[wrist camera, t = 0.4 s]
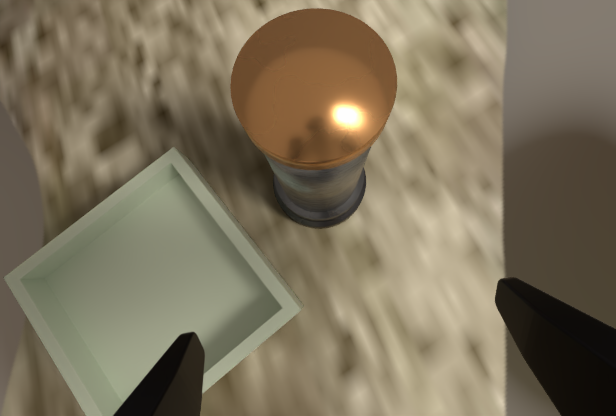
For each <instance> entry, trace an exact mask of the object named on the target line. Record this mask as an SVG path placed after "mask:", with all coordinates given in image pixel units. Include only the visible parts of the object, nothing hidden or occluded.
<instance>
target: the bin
mask: <svg viewBox="0 0 616 416" xmlns="http://www.w3.org/2000/svg"><path fill="white" fill-rule="evenodd" d="M4 280H5V281H6V283H7V285H8V286H9V288H10V289H11V291H12V293H13V294H14V296H15V298H16V299H17V301H18V303H19V305H20V306H21V308H22V309H23V311H24V313H25V315H26V316H27V318H28V320H29V321H30V323H31V325H32V326H33V328H34V330H35V331H36V333H37V335H38V336H39V338H40V340H41V341H42V343H43V345H44V346H45V348H46V350H47V351H48V353H49V355H50V356H51V358H52V360H53V361H54V363H55V365H56V366H57V368H58V370H59V371H60V373H61V375H62V376H63V378H64V380H65V381H66V383H67V385H68V386H69V388H70V390H71V391H72V393H73V395H74V396H75V398H76V400H77V401H78V403H79V405H80V406H81V408H82V410H83V411H84V413H85V415H86V416H113V415H114V413H115V412H116V411H117V410H118V409H119V407H120V406H121V405H122V404H123V403H124V401H125V400H126V399H127V398H128V396H129V395H130V394H131V393H132V392H133V390H134V389H135V388H136V387H137V386H138V384H139V383H140V382H141V381H142V380H143V378H144V377H145V376H146V375H147V374H148V372H149V371H150V370H151V369H152V367H153V366H154V365H155V364H156V363H157V361H158V360H159V359H160V358H161V357H162V355H163V354H164V353H165V352H166V351H167V349H168V348H169V347H170V346H171V344H172V343H173V342H174V341H175V340H176V338H177V337H178V336H179V335H180V334H182V333H187V332H195V333H196V334H197V336H198V338H199V340H200V342H201V344H202V346H203V348H204V351H205V363H204V376H203V388H202V394H203V393H204V392H205V391H206V390H207V389H208V388H210V387H211V386H212V385H213V384H214V383H216V382H217V381H218V380H219V379H220V378H221V377H223V376H224V375H225V374H226V373H227V372H229V371H230V370H231V369H232V368H233V367H234V366H236V365H237V364H238V363H239V362H240V361H242V360H243V359H244V358H245V357H246V356H247V355H249V354H250V353H251V352H252V351H253V350H255V349H256V348H257V347H258V346H259V345H260V344H262V343H263V342H264V341H265V340H266V339H268V338H269V337H270V336H271V335H272V334H273V333H275V332H276V331H277V330H278V329H279V328H281V327H282V326H283V325H284V324H285V323H286V322H288V321H289V320H290V319H291V318H292V317H294V316H295V315H296V314H297V313H298V312H299V311H301V310H302V308H303V306H304V305H303V304H302V302H301V301H300V300H299V299H298V297H297V296H296V295H295V294H294V292H293V291H292V290H291V288H290V287H289V286H288V285H287V283H286V282H285V281H284V280H283V278H282V277H281V276H280V274H279V273H278V272H277V271H276V269H275V268H274V267H273V266H272V264H271V263H270V262H269V260H268V259H267V258H266V257H265V255H264V254H263V253H262V251H261V250H260V249H259V248H258V246H257V245H256V244H255V243H254V241H253V240H252V239H251V237H250V236H249V235H248V234H247V232H246V231H245V230H244V229H243V227H242V226H241V225H240V223H239V222H238V221H237V220H236V218H235V217H234V216H233V214H232V213H231V212H230V211H229V209H228V208H227V207H226V206H225V204H224V203H223V202H222V200H221V199H220V198H219V197H218V195H217V194H216V193H215V192H214V190H213V189H212V188H211V186H210V185H209V184H208V183H207V181H206V180H205V179H204V178H203V176H202V175H201V174H200V172H199V171H198V170H197V169H196V167H195V166H194V165H193V163H192V162H191V161H190V160H189V159H188V158H187V157H186V156H185V155H183V154H182V153H181V152H180V151H179V150H177V149H176V148H175V147H173V148H171V149H170V150H169V151H167V152H166V153H165V154H164V155H162V156H161V157H160V158H158V159H157V160H156V161H154V162H153V163H152V164H151V165H149V166H148V167H147V168H145V169H144V170H143V171H141V172H140V173H139V174H138V175H136V176H135V177H134V178H132V179H131V180H130V181H128V182H127V183H126V184H124V185H123V186H122V187H121V188H119V189H118V190H117V191H115V192H114V193H113V194H111V195H110V196H109V197H108V198H106V199H105V200H104V201H102V202H101V203H100V204H98V205H97V206H96V207H95V208H93V209H92V210H91V211H89V212H88V213H87V214H85V215H84V216H83V217H82V218H80V219H79V220H78V221H76V222H75V223H74V224H72V225H71V226H70V227H68V228H67V229H66V230H65V231H63V232H62V233H61V234H59V235H58V236H57V237H55V238H54V239H53V240H52V241H50V242H49V243H48V244H46V245H45V246H44V247H42V248H41V249H40V250H39V251H37V252H36V253H35V254H33V255H32V256H31V257H29V258H28V259H27V260H26V261H24V262H23V263H22V264H20V265H19V266H18V267H16V268H15V269H14V270H13V271H11V272H10V273H9V274H7V275H6V276H5V277H4Z"/></svg>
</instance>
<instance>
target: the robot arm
mask: <svg viewBox="0 0 616 416" xmlns="http://www.w3.org/2000/svg"><path fill="white" fill-rule="evenodd" d="M495 303H496V306H497V309H498V311H499V312H500V314H501V316H502V318H503V320H504V322H505V324H506V326H507V328H508V330H509V332H510V334H511V335H512V337H513V339H514V341H515V343H516V345H517V347H518V349H519V351H520V352H521V354H522V356H523V358H524V359H525V361H526V363H527V364H528V366H529V367H530V369H531V370H532V372H533V373H534V375H535V376H536V378H537V380H538V381H539V383H540V384H541V386H542V387H543V388H544V390H545V392H546V393H547V395H548V396H549V398H550V399H551V401H552V402H553V404H554V405H555V407H556V409H557V410H558V412H559V413H560V415H561V416H616V329H614V328H613V327H611V326H609V325H607V324H605V323H603V322H601V321H599V320H597V319H595V318H593V317H591V316H590V315H587V314H586V313H584V312H582V311H580V310H578V309H576V308H574V307H572V306H570V305H568V304H566V303H564V302H562V301H560V300H558V299H557V298H555V297H553V296H550V295H549V294H547V293H545V292H543V291H541V290H539V289H537V288H535V287H533V286H531V285H529V284H527V283H525V282H524V281H522V280H520V279H518V278H515V277H508V278H502V279H500V280H499V281H498V284H497V290H496V295H495ZM204 363H205V351H204V348H203V346H202V344H201V342H200V340H199V338H198V336H197V334H196V333H195V332H187V333H182V334H180V335H179V336H178V337H177V338H176V340H175V341H174V342H173V343H172V344H171V346H170V347H169V348H168V349H167V351H166V352H165V353H164V354H163V355H162V357H161V358H160V359H159V360H158V361H157V363H156V364H155V365H154V366H153V367H152V369H151V370H150V371H149V372H148V374H147V375H146V376H145V377H144V378H143V380H142V381H141V382H140V383H139V384H138V386H137V387H136V388H135V389H134V390H133V392H132V393H131V394H130V395H129V396H128V398H127V399H126V400H125V401H124V403H123V404H122V405H121V406H120V407H119V409H118V410H117V411H116V412H115V413H114V415H113V416H200V411H201V401H202V388H203V376H204Z"/></svg>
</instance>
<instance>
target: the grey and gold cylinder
mask: <svg viewBox="0 0 616 416" xmlns="http://www.w3.org/2000/svg"><path fill="white" fill-rule="evenodd" d="M396 91H397V74H396V68H395V64H394V61H393V58H392V55H391V53H390V51H389V49H388V47H387V46H386V44H385V43H384V41H383V40H382V39H381V37H380V36H379V35H378V34H377V33H376V32H375V31H374V30H373V29H372V28H370V27H369V26H368V25H367V24H365V23H364V22H362V21H361V20H359V19H357V18H355V17H353V16H351V15H348V14H345V13H343V12H339V11H335V10H330V9H303V10H297V11H293V12H289V13H287V14H284V15H281V16H279V17H277V18H275V19H273V20H271V21H269V22H268V23H266V24H265V25H263V26H262V27H261V28H259V29H258V30H257V31H256V32H255V33H254V34H253V35H252V36H251V37H250V38H249V39H248V40H247V42H246V43H245V45H244V46H243V47H242V49H241V51H240V53H239V54H238V56H237V59H236V61H235V64H234V67H233V71H232V76H231V98H232V102H233V107H234V109H235V112H236V115H237V117H238V119H239V121H240V122H241V124H242V126H243V128H244V130H245V131H246V133H247V135H248V136H249V138H250V139H251V141H252V142H253V143H254V144H255V146H256V147H257V148H258V149H259V150H260V151H261V152H263V153H264V155H265V156H266V158H267V160H268V162H269V164H270V166H271V168H272V170H273V172H274V182H275V186H276V190H277V192H278V194H279V196H280V198H281V200H282V201H283V203H284V204H285V206H286V207H287V208H288V209H289V210H290V211H291V212H292V213H293V214H294V215H296V216H298V217H299V218H302V219H304V220H307V221H311V222H328V221H332V220H335V219H337V218H339V217H341V216H343V215H344V214H345V213H347V212H348V211H349V210H350V209H351V208H352V207H353V205H354V204H355V202H356V201H357V199H358V197H359V195H360V192H361V190H362V187H363V183H364V164H365V161H366V159H367V156H368V153H369V151H370V148H371V146H372V145H373V143H374V142H375V141H376V140H377V138H378V137H379V135H380V134H381V132H382V131H383V129H384V127H385V124H386V122H387V120H388V117H389V115H390V112H391V110H392V108H393V105H394V101H395V98H396Z"/></svg>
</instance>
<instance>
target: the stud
mask: <svg viewBox="0 0 616 416" xmlns="http://www.w3.org/2000/svg"><path fill="white" fill-rule="evenodd" d="M273 186H274V192H275V196H276V198H277V201H278V203H279V205H280V206H281V208H282V209H283V210H284V212H285V213H286V214H287V215H288V216H289V217H290V218H291V219H292V220H294V221H295V222H297V223H299V224H301V225H303V226H306V227H310V228H319V229H322V228H329V227H333V226H336V225H339V224H340V223H342V222H344V221H345V220H347V219H348V218H349V217H350V216H351V215H352V214H353V213H354V212H355V211H356V210H357V208H358V206H359V205H360V203H361V201H362V199H363V196H364V193H365V188H366V176H365V171H364V183H363V187H362V190H361V192H360V195H359V197H358V199H357V201H356V202H355V204H354V205H353V207H352V208H351V209H350V210H349V211H348V212H347V213H345V214H344V215H343V216H341V217H339V218H337V219H335V220H332V221H328V222H311V221H307V220H304V219H302V218H299V217H298V216H296V215H294V214H293V213H292V212H291V211H290V210H289V209H288V208H287V207H286V206H285V204H284V203H283V201H282V200H281V198H280V196H279V194H278V192H277V190H276V186H275V182H274V179H273Z"/></svg>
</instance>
